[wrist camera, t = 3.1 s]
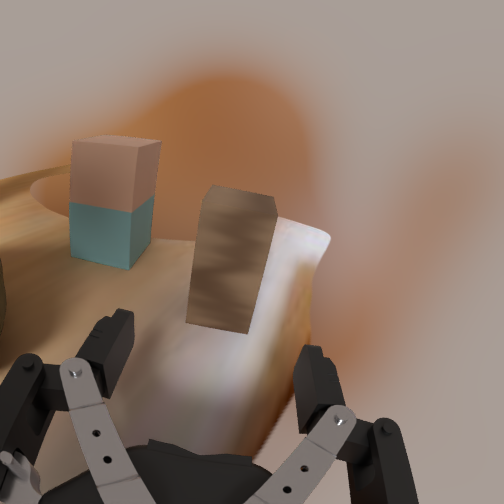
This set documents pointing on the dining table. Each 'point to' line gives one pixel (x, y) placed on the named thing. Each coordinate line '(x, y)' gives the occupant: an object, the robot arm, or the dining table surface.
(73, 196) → the tower top
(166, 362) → the dining table surface
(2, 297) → the decorative stone
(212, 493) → the robot arm
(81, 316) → the dining table surface
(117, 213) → the tower base
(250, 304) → the pillar
